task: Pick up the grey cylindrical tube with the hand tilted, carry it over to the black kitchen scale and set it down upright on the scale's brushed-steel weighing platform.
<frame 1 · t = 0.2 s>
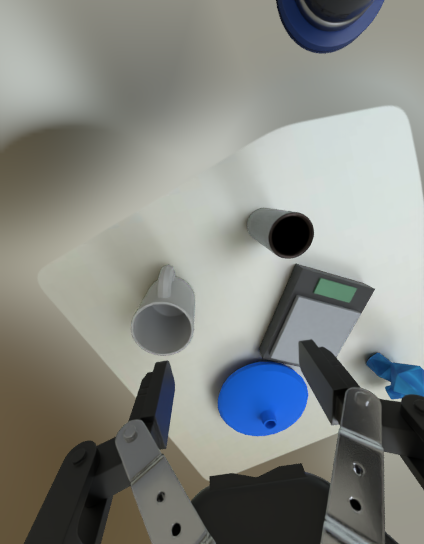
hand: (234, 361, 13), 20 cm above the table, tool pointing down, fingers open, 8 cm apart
scale: (309, 317, 36), on the table
grey cylindrical tube: (262, 224, 31), on the table
cup: (171, 288, 33), on the table
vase: (258, 386, 41), on the table
crystal: (379, 361, 40), on the table
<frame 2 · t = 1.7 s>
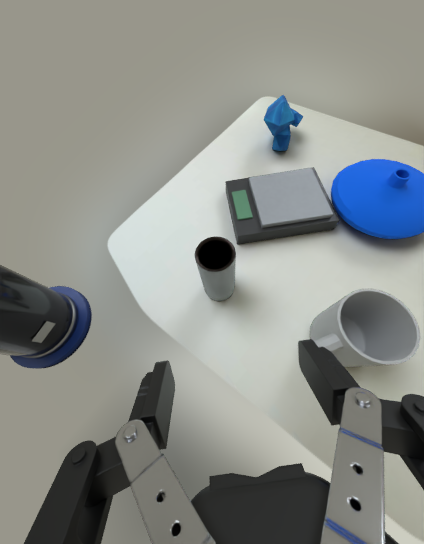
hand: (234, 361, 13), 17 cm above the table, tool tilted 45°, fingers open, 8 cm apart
scale: (275, 209, 39), on the table
grey cylindrical tube: (219, 287, 34), on the table
cup: (327, 342, 29), on the table
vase: (372, 208, 37), on the table
crystal: (278, 144, 46), on the table
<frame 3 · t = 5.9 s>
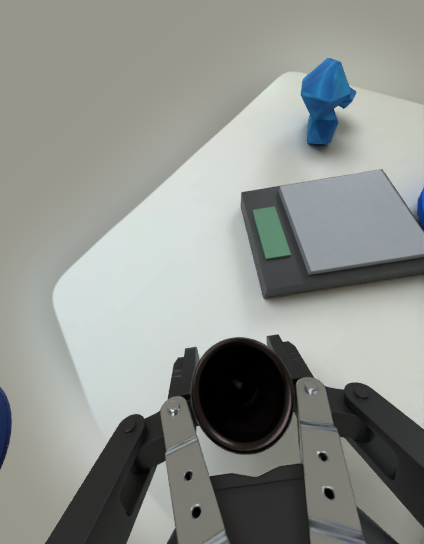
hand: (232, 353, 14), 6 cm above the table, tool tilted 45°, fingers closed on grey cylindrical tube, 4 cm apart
scale: (322, 236, 24), on the table
grey cylindrical tube: (236, 382, 19), on the table, touching gripper
crystal: (314, 135, 32), on the table
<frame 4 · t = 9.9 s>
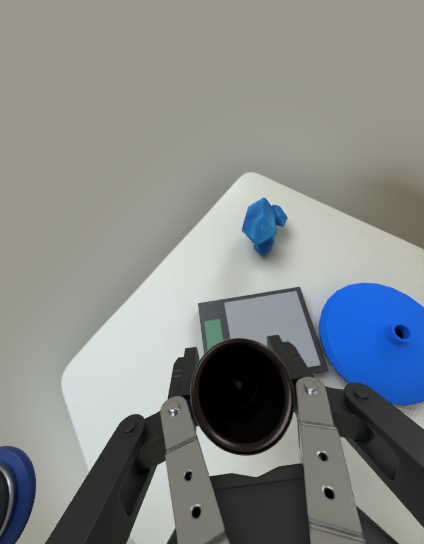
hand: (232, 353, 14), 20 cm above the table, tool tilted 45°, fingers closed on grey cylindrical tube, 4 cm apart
scale: (256, 336, 34), on the table
grey cylindrical tube: (236, 382, 19), point 14 cm above the table, touching gripper
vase: (367, 340, 32), on the table
crystal: (261, 240, 41), on the table
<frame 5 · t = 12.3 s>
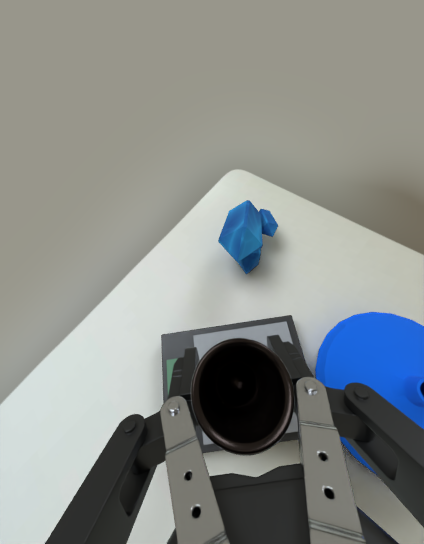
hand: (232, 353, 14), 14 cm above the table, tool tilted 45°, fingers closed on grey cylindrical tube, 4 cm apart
scale: (234, 378, 26), on the table
grey cylindrical tube: (236, 382, 19), point 8 cm above the table, touching gripper
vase: (378, 387, 25), on the table
crystal: (247, 251, 33), on the table
when the fingers open (9 cm above the table, at t = 14.1 s): grey cylindrical tube stays where it is, resting on scale.
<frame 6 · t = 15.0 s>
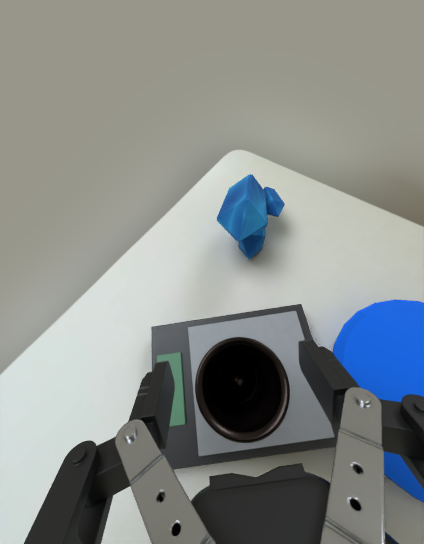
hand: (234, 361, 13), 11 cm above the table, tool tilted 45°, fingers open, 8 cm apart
scale: (235, 377, 23), on the table
grey cylindrical tube: (237, 380, 20), point 3 cm above the table, touching scale
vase: (404, 387, 21), on the table
crystal: (249, 236, 30), on the table
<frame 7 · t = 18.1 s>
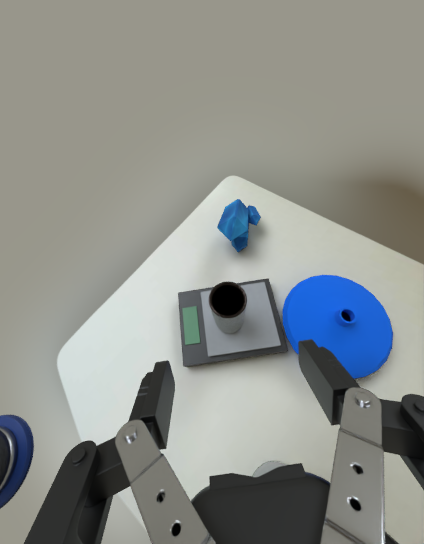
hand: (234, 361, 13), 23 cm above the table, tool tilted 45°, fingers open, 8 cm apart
scale: (229, 322, 38), on the table
grey cylindrical tube: (229, 319, 35), point 3 cm above the table, touching scale
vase: (327, 325, 36), on the table
crystal: (239, 237, 45), on the table
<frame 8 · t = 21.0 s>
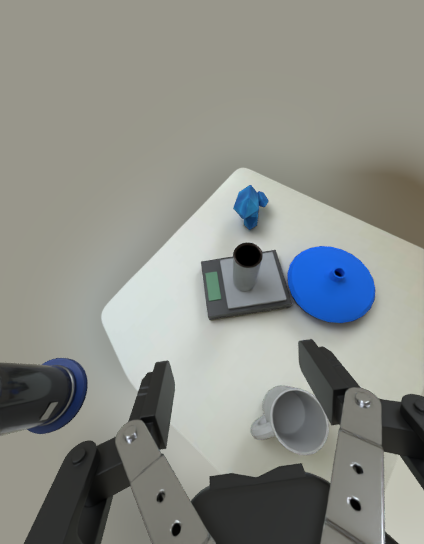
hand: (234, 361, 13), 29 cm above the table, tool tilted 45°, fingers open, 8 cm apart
scale: (243, 285, 46), on the table
grey cylindrical tube: (244, 280, 43), point 3 cm above the table, touching scale
cup: (276, 413, 36), on the table
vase: (323, 287, 45), on the table
crystal: (249, 218, 53), on the table
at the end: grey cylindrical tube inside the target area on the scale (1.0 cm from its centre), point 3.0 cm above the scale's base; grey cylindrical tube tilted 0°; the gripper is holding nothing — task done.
